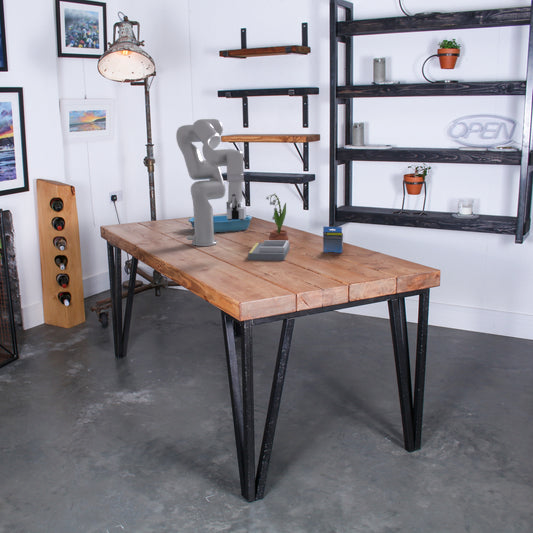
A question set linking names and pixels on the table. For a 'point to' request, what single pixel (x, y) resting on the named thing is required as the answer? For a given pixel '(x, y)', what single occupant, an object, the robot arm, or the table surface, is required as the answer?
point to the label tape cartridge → (332, 239)
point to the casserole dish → (227, 223)
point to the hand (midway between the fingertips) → (236, 217)
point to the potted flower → (278, 222)
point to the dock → (269, 250)
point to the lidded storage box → (241, 210)
